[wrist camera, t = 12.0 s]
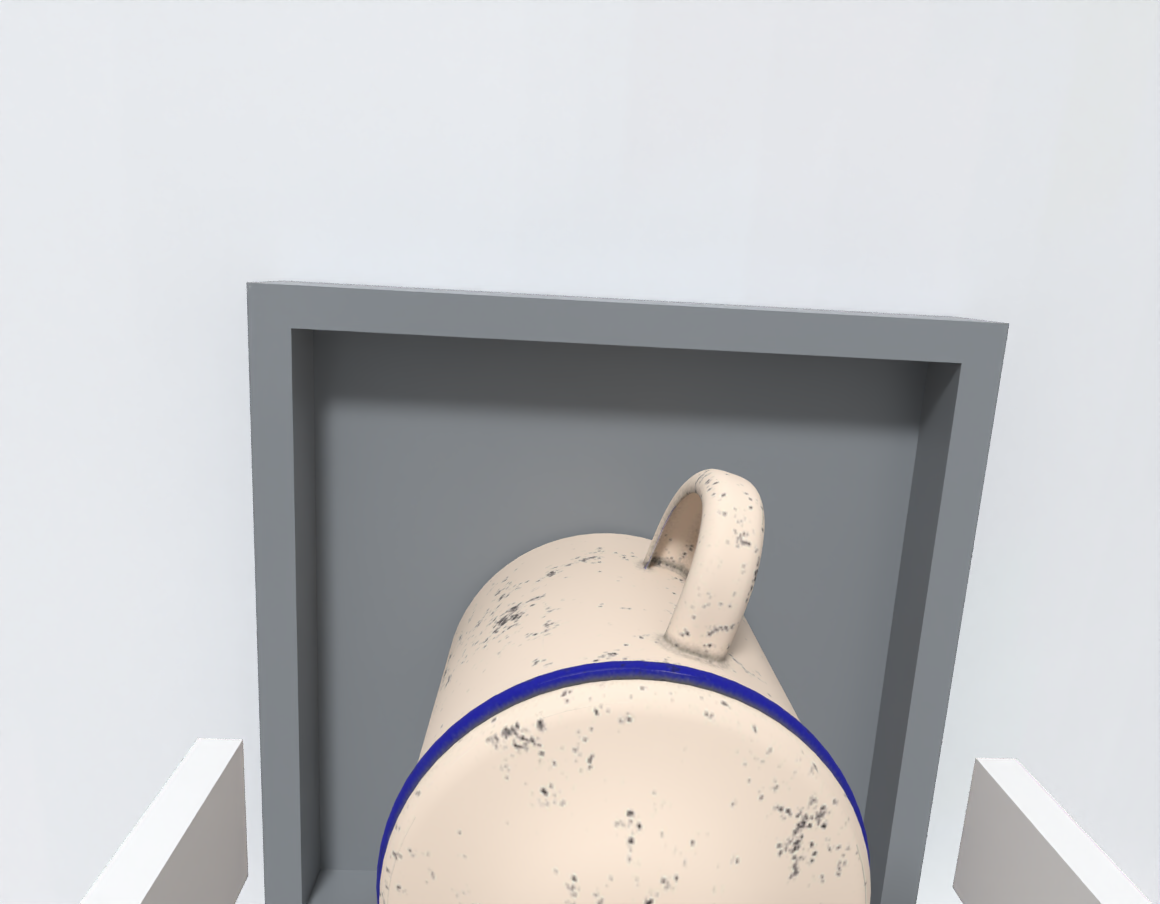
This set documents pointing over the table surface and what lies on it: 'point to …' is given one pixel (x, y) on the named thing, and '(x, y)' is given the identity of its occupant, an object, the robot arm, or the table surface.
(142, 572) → the table surface
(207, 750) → the robot arm
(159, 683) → the table surface
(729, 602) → the teacup with lid
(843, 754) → the tray
